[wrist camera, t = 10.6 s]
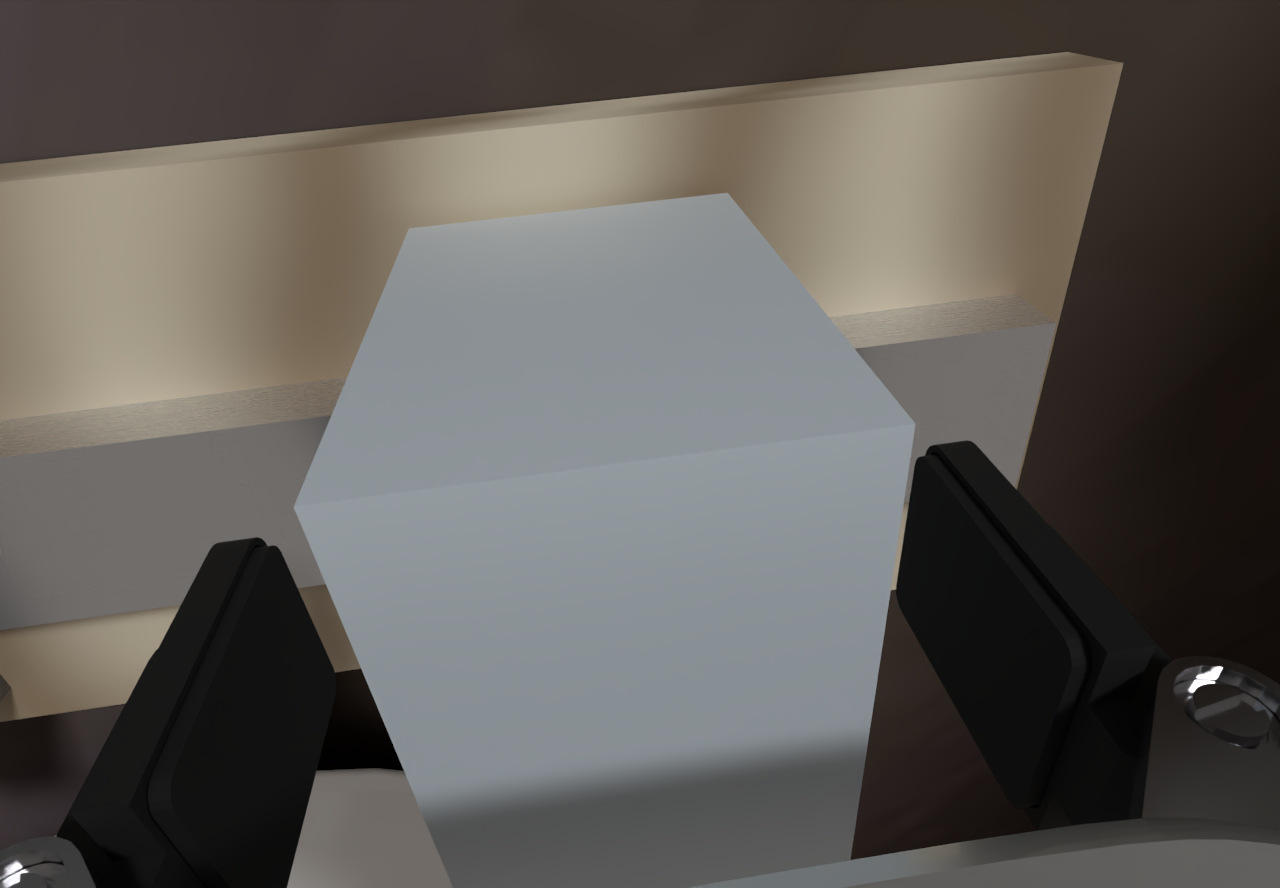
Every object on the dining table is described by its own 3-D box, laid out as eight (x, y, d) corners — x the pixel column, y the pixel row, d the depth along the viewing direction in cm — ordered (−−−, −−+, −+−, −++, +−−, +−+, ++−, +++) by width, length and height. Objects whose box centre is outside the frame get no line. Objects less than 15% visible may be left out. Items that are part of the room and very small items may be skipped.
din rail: (1048, 137, 12) (1238, 205, 9) (961, 548, 17) (1063, 690, 14) (-537, 314, 11) (-996, 472, 8) (-138, 709, 16) (-312, 908, 13)
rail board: (1067, 52, 13) (1123, 62, 12) (965, 534, 19) (995, 574, 18) (-555, 222, 12) (-685, 255, 10) (-109, 689, 18) (-157, 744, 16)
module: (727, 192, 12) (915, 423, 6) (732, 590, 17) (840, 928, 11) (408, 227, 12) (293, 507, 6) (506, 622, 17) (494, 988, 11)
